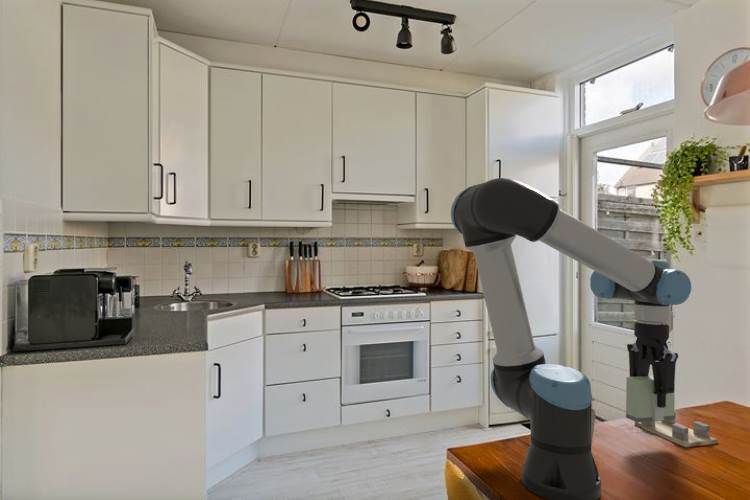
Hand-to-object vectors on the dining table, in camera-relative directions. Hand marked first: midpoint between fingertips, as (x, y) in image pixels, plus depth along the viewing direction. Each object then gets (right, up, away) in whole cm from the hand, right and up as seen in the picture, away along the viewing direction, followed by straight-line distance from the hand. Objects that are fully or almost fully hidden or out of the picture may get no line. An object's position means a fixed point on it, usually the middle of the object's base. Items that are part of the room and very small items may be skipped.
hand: (650, 416), depth 118 cm
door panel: (0, 0, 0) cm, 0 cm away
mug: (-20, -7, -5) cm, 22 cm away
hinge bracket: (+11, -7, +8) cm, 15 cm away
